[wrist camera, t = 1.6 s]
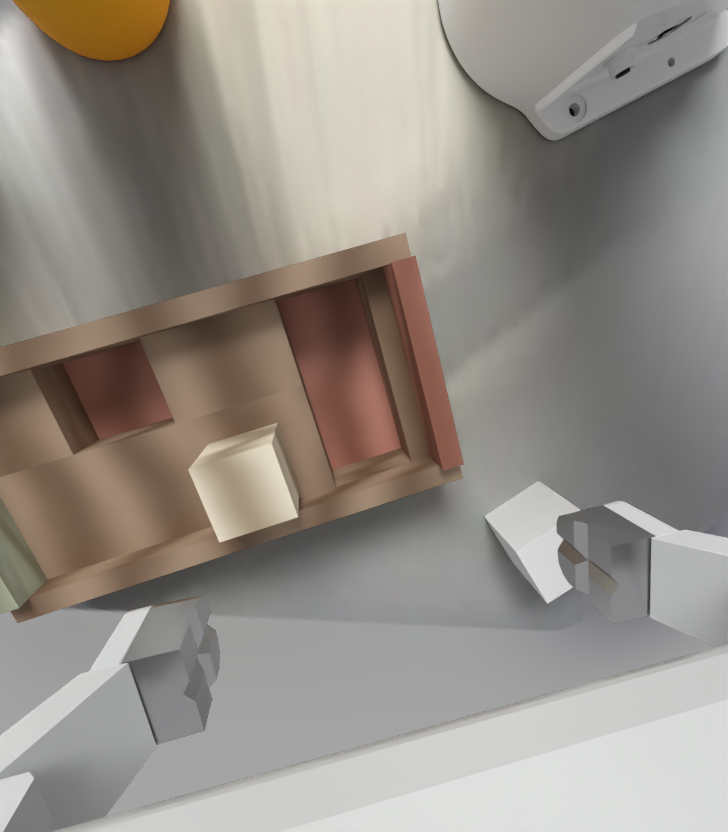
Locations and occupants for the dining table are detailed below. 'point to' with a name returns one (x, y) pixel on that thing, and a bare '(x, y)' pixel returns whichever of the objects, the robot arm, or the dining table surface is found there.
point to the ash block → (246, 482)
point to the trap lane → (214, 420)
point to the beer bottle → (99, 24)
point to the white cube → (534, 536)
